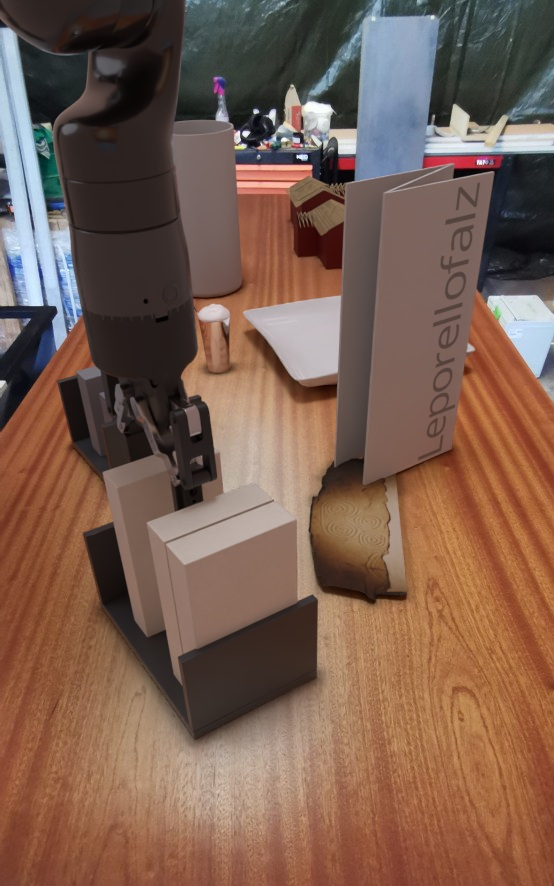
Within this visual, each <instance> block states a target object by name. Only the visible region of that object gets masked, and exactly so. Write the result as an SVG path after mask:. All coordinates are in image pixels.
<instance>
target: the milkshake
mask: <svg viewBox="0 0 554 886" xmlns="http://www.w3.org/2000/svg"><path fill="white" fill-rule="evenodd" d="M194 312H195V314H196V315H197V319H198V324H199V329H200V334H201V339H202V345H203V350H204V357H205V363H206V368H207V371H208V372H209V373H212V374H222V373H226V372H228V370H229V369H230V330H231V329H230V327H231V326H230V325H231V312H230V311H229V309H228V308H226V307H225V306H224V305H222V304H216V303H211V304H209V305H207V306H203V307H202V308H201V309H200V310H199V312H198V311H197V309H196V307H195V306H194Z"/></svg>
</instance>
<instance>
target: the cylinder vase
mask: <svg viewBox="0 0 554 886" xmlns="http://www.w3.org/2000/svg"><path fill="white" fill-rule="evenodd" d="M235 143H236V142H235V127H234V124H233V123H232V122H228V121H224V120H216V119H215V120H213V119H193V120H181V121H174V127H173V150H174V157H175V163H176V165H175V166H176V172H177V182H178V192H179V201H180V214H181V219H182V225H183V230H184V234H185V238H186V242H187V247H188V253H189V261H190V272H191V282H192V291H193V298H199V299H201V298H202V299H203V298H204V299H205V298H207V299H208V298H217V297H222V296H226V295H229V294H232V293H234V292H236V291H237V290H238V289H239V288H240V287H241V286H242V283H243V271H242V251H241V236H240V235H241V233H240V217H239V215H240V214H239V198H238V181H237V165H236V163H237V162H236V161H237V160H236V145H235Z"/></svg>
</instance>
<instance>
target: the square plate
mask: <svg viewBox="0 0 554 886" xmlns="http://www.w3.org/2000/svg"><path fill="white" fill-rule="evenodd" d="M340 307H341V295H334V296H326V297H319V298H318V297H317V298H310V299H303V300H298V301H293V302H286V303H280V304H273V305H268V306H263V307H259V308H258V307H256V308H249V309H246V310H244V311H242V314H243V317H244V318H245V319H246V320H247V321H248V322H249V323H250V324H251V326H252V327H254V328H255V329H256V330H257V331H258V332H259V333H260V335H261V336H262V337H263V338H264V339H265V340H266V342H267V343H268V344H269V346H270V347H271V349H272V350H273V352H274V353H275V354H276V357H278V359H279V361H280V362H281V364H282V365H283V367H284V368H285V370H286V371H287V372H288V374H289V375H290V377H291V378H292V379H293V380H295V381H297V382H298V384H300V385H301V386H302V387H307V388H314V387H321V386H334V385H335V386H336V385H337V382H338V357H339V332H340ZM475 352H476V348H475V347H474V345H472V344H471V343H469V342H468V346H467V353H466V358H467V357H468V356H470V355H472V354H473V353H475Z"/></svg>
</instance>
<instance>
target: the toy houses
mask: <svg viewBox="0 0 554 886" xmlns="http://www.w3.org/2000/svg"><path fill="white" fill-rule="evenodd" d="M342 184H343V185H342ZM285 192H286V194H287V196H288V197H289V210H290V211H289V214H290V215H289V217H290V222H291V224H292V225H293V251H294V253H295V254H296V256H297V258H304V257H307V258H308V257H318V259H319V260H320V262H321V263H322V265H323V267H324V268H325V270H335V269H337V270H338V269H342V257H343V232H344V207H345V183H343V182H340V184H338V183H337V182H336V183H335V185H334V183H331V185H330V184H329V183H325V182H323V181H321V180H319V179H317V178H314V177H313V176H310V175H307V176H306V177H303V178H302V179H300V180H299V181H297V182H296V183H294V184H293V185H291V186H289V187H288V188H287V189H285Z"/></svg>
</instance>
